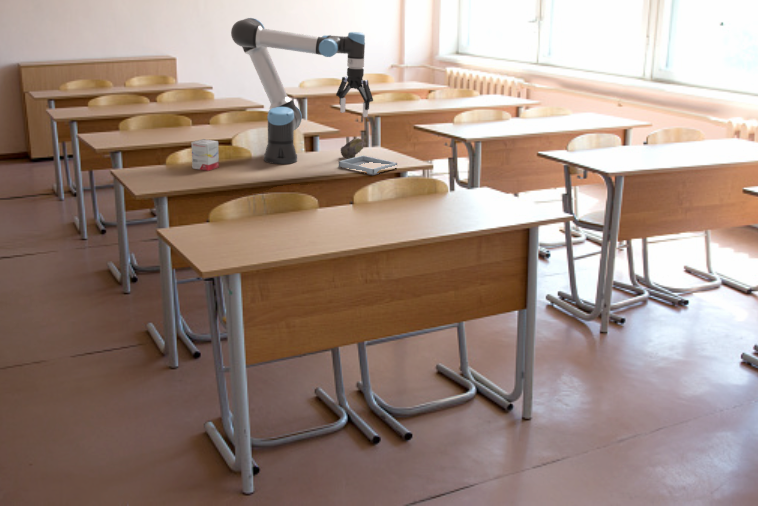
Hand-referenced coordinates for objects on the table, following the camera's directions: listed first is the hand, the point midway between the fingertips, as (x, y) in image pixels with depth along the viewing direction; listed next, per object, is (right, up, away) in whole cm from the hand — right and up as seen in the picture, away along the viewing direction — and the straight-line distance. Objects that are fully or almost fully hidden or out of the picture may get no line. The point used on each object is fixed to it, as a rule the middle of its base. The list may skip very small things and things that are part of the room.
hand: (353, 114), depth 385 cm
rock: (-1, -19, +8) cm, 21 cm away
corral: (+7, -25, -9) cm, 28 cm away
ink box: (-64, -27, -21) cm, 72 cm away
